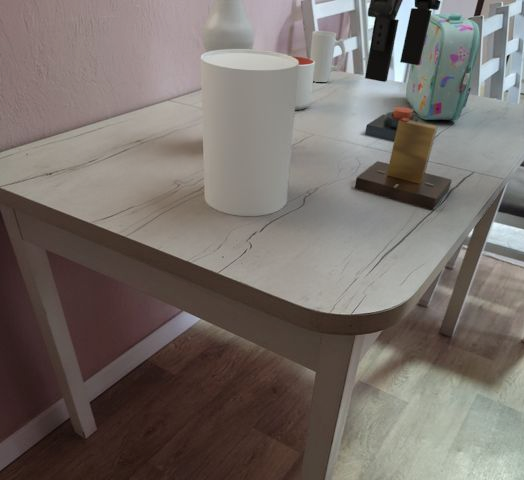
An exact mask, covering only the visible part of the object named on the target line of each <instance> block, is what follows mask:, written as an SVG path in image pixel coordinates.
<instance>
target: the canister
mask: <svg viewBox="0 0 524 480" xmlns="http://www.w3.org/2000/svg"><path fill="white" fill-rule="evenodd" d="M291 56H292V55H289V54H286V53H280V52H275V51H269V50H261V49H252V50H251V49H225V50H215V51H210V52H206V53H205V52H203V53H202V54H201V55H200V80H201V81H200V82H201V113H202V114H201V118H202V151H203V152H202V155H203V183H204V184H203V185H204V188H203V189H204V201H205V202H206V204H207V205H208V206H209V207H211V208H212V209H214V210H216V211H218V212H221V213H223V214H228V215H232V216H237V217H238V216H240V217H260V216H261V217H262V216H266V215H269V214H270V215H271V214H273V213H276V212H279V211H280V210H282V209H283V208H284V207H285V206H286V204H287V202H288V189H289V178H290V167H291V157H292V156H291V155H292V146H293V133H294V120H295V113H296V112H295V111H296V110H295V100H296V89H297V78H298V66H299V61H298V60H297V59H296V58H294V57H291Z"/></svg>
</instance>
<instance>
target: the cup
mask: <svg viewBox="0 0 524 480" xmlns="http://www.w3.org/2000/svg"><path fill="white" fill-rule="evenodd" d="M290 56H291V57H294V58H296V59H297V60H298V61H299V66H298V78H297V89H296V100H295V111H299V110H304V109H306V108H308V107H309V106H310V104H311V101H312V94H313V93H312V92H313V83H314V82H313V75H314V65H315V62H314V61H313V60H311V59H310V58H308V57H302V56H295V55H290Z"/></svg>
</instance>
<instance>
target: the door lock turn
mask: <svg viewBox="0 0 524 480" xmlns="http://www.w3.org/2000/svg"><path fill="white" fill-rule="evenodd" d="M437 132H438V125H434V124H429V123H424V122H420V121H418V122H416V121H411V120H409V119H408V118H402V119H401V120H400V121H399V123H398V127H397V132H396V136H395V141H393V145H392V149H391V154H390V159H389V163H388V164H389V168H388V172H387V176H391V177H395V178H399V179H403V180H406V181H410V182H414V183H418V184H420V183H421V182H422V181H423V179H424V175H425V173H426V171H427V169H428V168H427V167H428V165H429V164H428V163H429V160H430V157H431V153H432V150H433V145H434V142H435V139H436V135H437Z"/></svg>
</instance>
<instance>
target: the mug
mask: <svg viewBox="0 0 524 480" xmlns="http://www.w3.org/2000/svg"><path fill="white" fill-rule="evenodd" d="M311 32H312V36H311V44H310V46H311V47H310V56H309V57H310V58H309V59H311V60H313V61H314V62H315V65H314V75H313V81H315V82H314V83H316V82H327V81H329V80H330V81H331V73H333V72H337V73H338V72H339V71H340V69H341V67H342V65H343V63H344V62H345V58H346V45H345V42H344V39H338V40H337V33H336V32H333V31H327V30H314V31H311ZM336 46H338V47H339V48H340V50H341V57H340V59H339V62H338V63H337V64H336V65H334V64H333V60H334V53H335V47H336ZM330 81H329V82H330ZM327 83H328V82H327Z"/></svg>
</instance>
